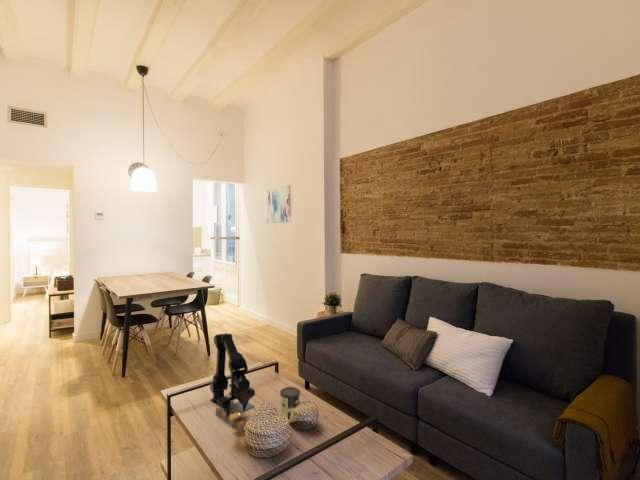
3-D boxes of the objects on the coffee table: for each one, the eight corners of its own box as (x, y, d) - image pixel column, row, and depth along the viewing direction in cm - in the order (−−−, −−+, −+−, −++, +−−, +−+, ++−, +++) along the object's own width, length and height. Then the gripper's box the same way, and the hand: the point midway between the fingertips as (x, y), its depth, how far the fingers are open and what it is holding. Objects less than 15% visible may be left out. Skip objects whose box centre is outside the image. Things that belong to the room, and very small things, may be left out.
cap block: (218, 408, 179) (218, 398, 179) (227, 404, 183) (227, 395, 183) (225, 412, 175) (225, 402, 175) (233, 408, 179) (233, 399, 179)
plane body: (215, 414, 180) (215, 404, 180) (225, 409, 185) (225, 400, 185) (240, 432, 165) (240, 421, 165) (251, 426, 170) (251, 416, 170)
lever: (237, 413, 173) (226, 416, 169) (237, 411, 173) (227, 414, 169) (243, 418, 170) (233, 421, 165) (243, 415, 170) (233, 418, 165)
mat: (228, 406, 188) (228, 406, 188) (243, 400, 196) (243, 399, 196) (239, 413, 182) (239, 413, 182) (254, 406, 189) (254, 406, 189)
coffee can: (301, 414, 183) (302, 388, 182) (296, 424, 173) (297, 397, 172) (283, 411, 185) (283, 385, 184) (277, 422, 175) (277, 394, 174)
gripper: (229, 395, 157) (229, 428, 157) (262, 382, 171) (261, 412, 171) (216, 387, 164) (216, 419, 165) (248, 375, 178) (248, 404, 179)
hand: (236, 413), depth 170 cm, fingers open, 9 cm apart
